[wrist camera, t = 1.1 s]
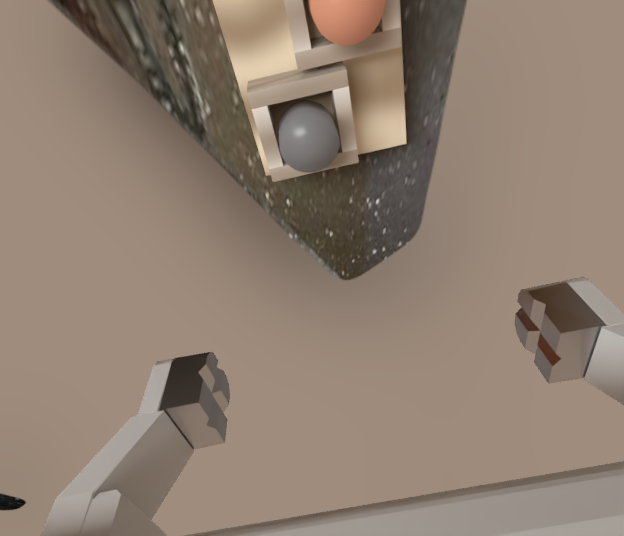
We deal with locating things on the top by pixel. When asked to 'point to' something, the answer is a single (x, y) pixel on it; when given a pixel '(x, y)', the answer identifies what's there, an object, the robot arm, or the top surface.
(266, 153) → the control panel
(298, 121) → the button
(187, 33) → the top surface
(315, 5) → the middle button
